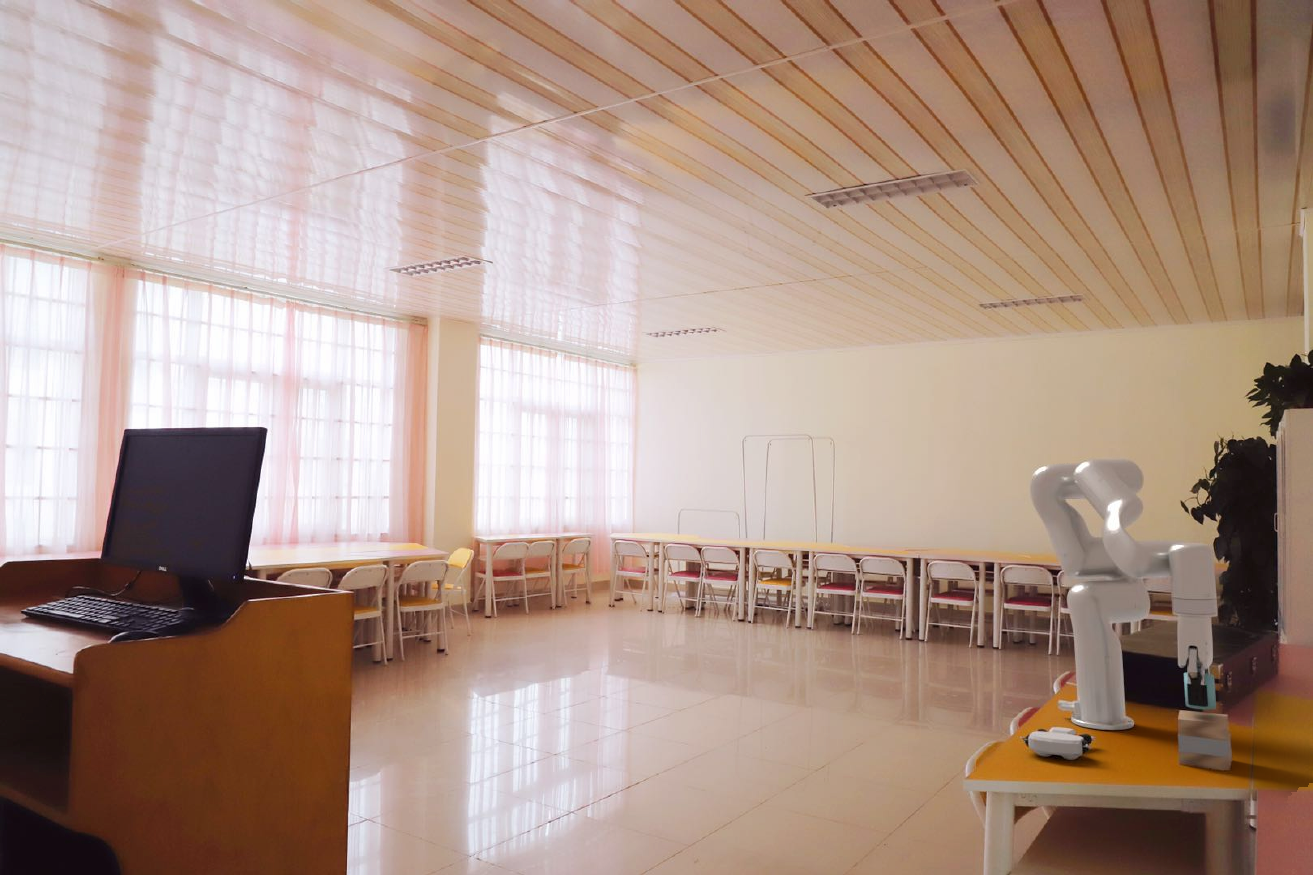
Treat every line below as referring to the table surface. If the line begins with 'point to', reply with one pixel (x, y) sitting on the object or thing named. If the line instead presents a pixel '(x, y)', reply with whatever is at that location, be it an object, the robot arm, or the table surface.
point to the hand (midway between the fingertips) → (1200, 701)
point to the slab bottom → (1205, 760)
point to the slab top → (1203, 725)
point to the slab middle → (1204, 745)
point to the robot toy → (1058, 742)
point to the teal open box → (1210, 691)
